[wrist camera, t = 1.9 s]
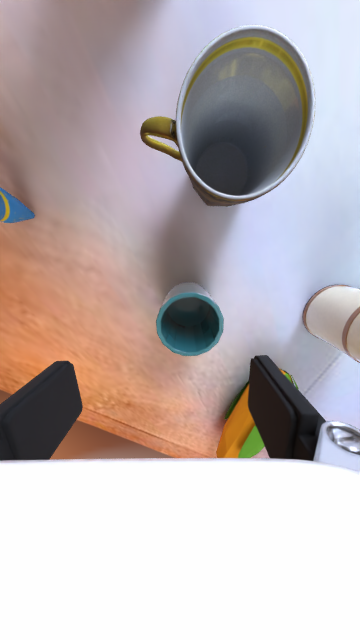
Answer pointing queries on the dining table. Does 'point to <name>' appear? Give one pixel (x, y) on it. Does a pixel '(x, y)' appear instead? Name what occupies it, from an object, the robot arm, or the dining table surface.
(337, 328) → the cup stack
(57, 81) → the dining table surface
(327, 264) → the dining table surface
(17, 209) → the ornament
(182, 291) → the teal cup
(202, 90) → the ceramic cup
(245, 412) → the corn
